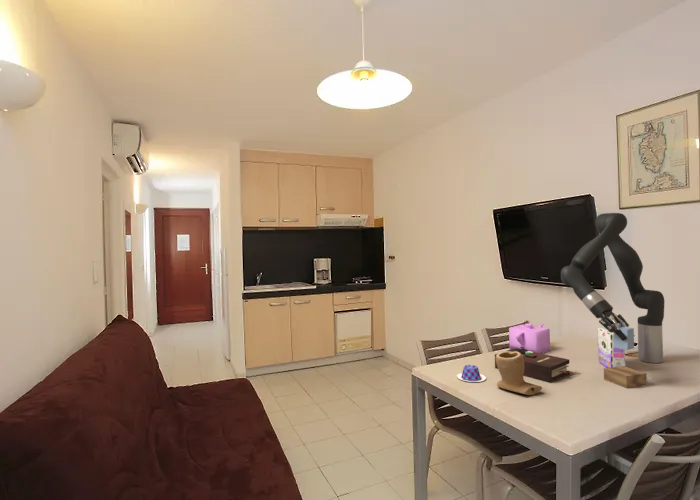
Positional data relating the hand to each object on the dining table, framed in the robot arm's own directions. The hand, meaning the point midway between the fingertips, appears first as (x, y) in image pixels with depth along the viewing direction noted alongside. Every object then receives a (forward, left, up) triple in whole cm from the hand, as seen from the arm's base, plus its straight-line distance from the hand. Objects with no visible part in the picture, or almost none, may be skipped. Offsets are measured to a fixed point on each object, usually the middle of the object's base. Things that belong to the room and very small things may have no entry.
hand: (628, 338), depth 155 cm
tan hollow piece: (+43, -20, -18) cm, 51 cm away
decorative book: (+18, -31, -19) cm, 41 cm away
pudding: (+46, -40, -19) cm, 64 cm away
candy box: (-16, -15, -18) cm, 29 cm away
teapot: (-13, -53, -19) cm, 58 cm away
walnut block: (0, -2, -19) cm, 19 cm away
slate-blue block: (0, -2, -4) cm, 5 cm away
